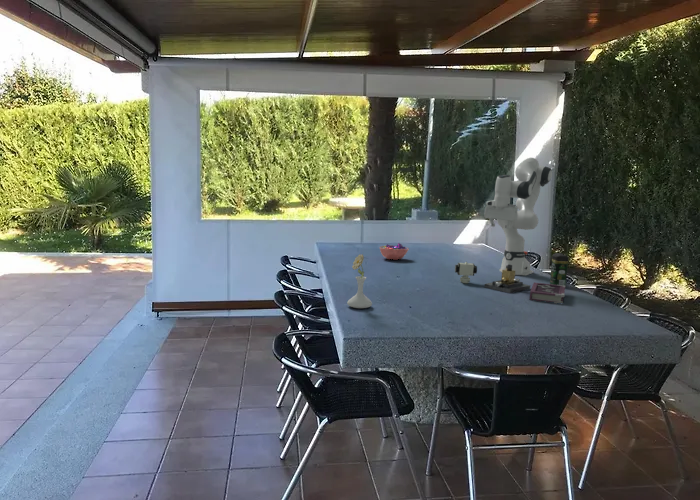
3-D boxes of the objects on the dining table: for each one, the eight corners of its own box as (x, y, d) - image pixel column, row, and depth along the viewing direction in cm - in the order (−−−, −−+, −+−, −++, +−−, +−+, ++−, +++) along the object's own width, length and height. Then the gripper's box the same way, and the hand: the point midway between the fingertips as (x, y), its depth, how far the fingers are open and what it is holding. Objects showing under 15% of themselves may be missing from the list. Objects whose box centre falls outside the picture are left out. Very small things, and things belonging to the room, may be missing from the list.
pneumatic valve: (475, 284, 324) (477, 263, 322) (454, 283, 324) (456, 262, 322) (474, 282, 329) (475, 261, 327) (453, 281, 329) (455, 260, 328)
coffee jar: (547, 283, 333) (550, 252, 330) (561, 284, 333) (564, 252, 330) (553, 287, 324) (556, 254, 321) (567, 288, 324) (570, 255, 321)
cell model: (376, 257, 400) (377, 240, 398) (405, 257, 402) (406, 241, 401) (380, 261, 383) (381, 244, 382) (410, 262, 386) (411, 245, 384)
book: (563, 305, 285) (564, 295, 284) (529, 300, 290) (530, 291, 290) (564, 294, 308) (565, 285, 307) (533, 291, 314) (533, 282, 313)
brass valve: (508, 282, 321) (509, 263, 319) (516, 284, 317) (517, 264, 315) (498, 284, 315) (500, 264, 313) (506, 286, 311) (508, 266, 309)
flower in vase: (347, 303, 268) (349, 250, 264) (371, 304, 268) (374, 251, 264) (346, 310, 255) (348, 255, 251) (372, 311, 255) (374, 256, 251)
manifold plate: (505, 283, 329) (505, 275, 328) (530, 288, 317) (530, 281, 316) (484, 287, 316) (484, 279, 315) (509, 293, 304) (510, 285, 303)
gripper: (520, 204, 323) (518, 229, 325) (490, 201, 338) (488, 225, 340) (514, 205, 319) (512, 229, 321) (483, 202, 334) (481, 225, 336)
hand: (499, 227), depth 331 cm, fingers open, 8 cm apart
